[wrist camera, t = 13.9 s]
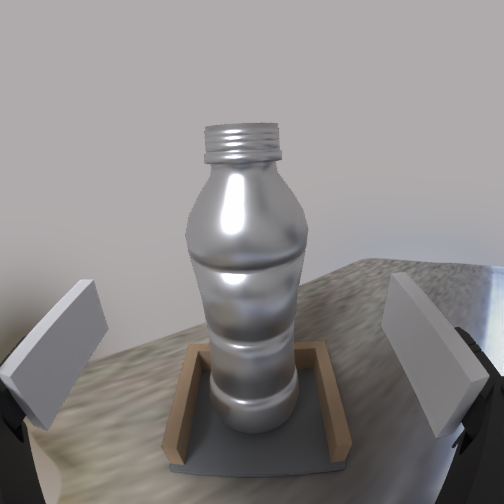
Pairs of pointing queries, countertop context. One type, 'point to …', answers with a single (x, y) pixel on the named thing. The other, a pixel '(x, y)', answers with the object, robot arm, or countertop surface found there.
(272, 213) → the silver metal bottle
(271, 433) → the tray
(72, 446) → the countertop surface
